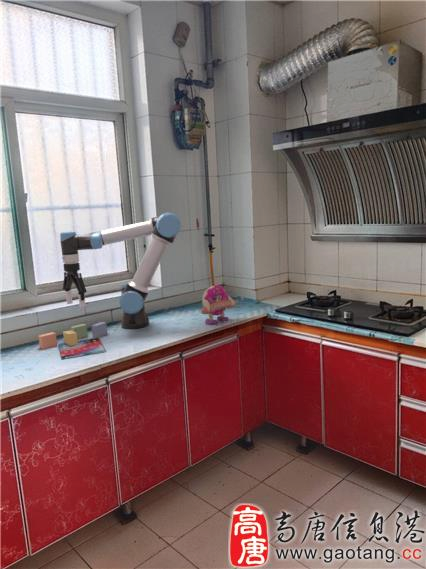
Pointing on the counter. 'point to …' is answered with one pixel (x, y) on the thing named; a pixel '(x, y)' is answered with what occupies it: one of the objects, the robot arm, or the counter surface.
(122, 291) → the robot arm
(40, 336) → the terracotta brick
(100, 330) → the slate brick
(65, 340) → the mustard brick
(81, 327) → the green brick
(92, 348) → the magazine
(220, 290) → the toy
